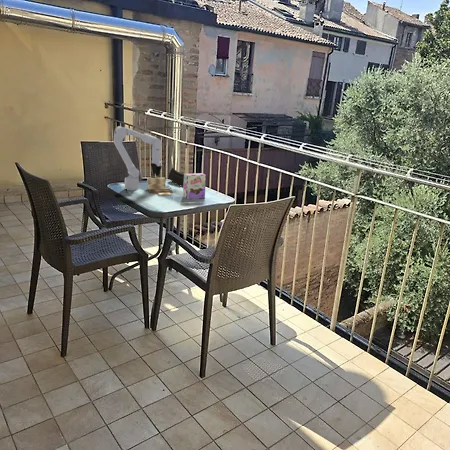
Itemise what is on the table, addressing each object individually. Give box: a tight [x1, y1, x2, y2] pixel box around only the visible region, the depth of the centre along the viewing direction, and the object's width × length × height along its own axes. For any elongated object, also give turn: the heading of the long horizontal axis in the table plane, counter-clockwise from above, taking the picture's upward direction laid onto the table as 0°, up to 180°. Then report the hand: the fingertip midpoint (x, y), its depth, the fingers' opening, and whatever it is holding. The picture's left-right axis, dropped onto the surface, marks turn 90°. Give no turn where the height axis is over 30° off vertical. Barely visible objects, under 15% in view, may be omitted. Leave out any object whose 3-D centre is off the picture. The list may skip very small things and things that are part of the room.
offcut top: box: [157, 193, 172, 197], centre depth 276 cm, size 8×4×1 cm, turn 116°
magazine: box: [168, 167, 185, 187], centre depth 311 cm, size 17×3×30 cm
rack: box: [148, 188, 174, 194], centre depth 283 cm, size 16×5×2 cm, turn 114°
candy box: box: [182, 172, 207, 200], centre depth 274 cm, size 14×6×16 cm, turn 117°
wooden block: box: [147, 177, 167, 191], centre depth 291 cm, size 12×2×8 cm, turn 114°
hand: (155, 174), depth 292 cm, fingers open, 7 cm apart
